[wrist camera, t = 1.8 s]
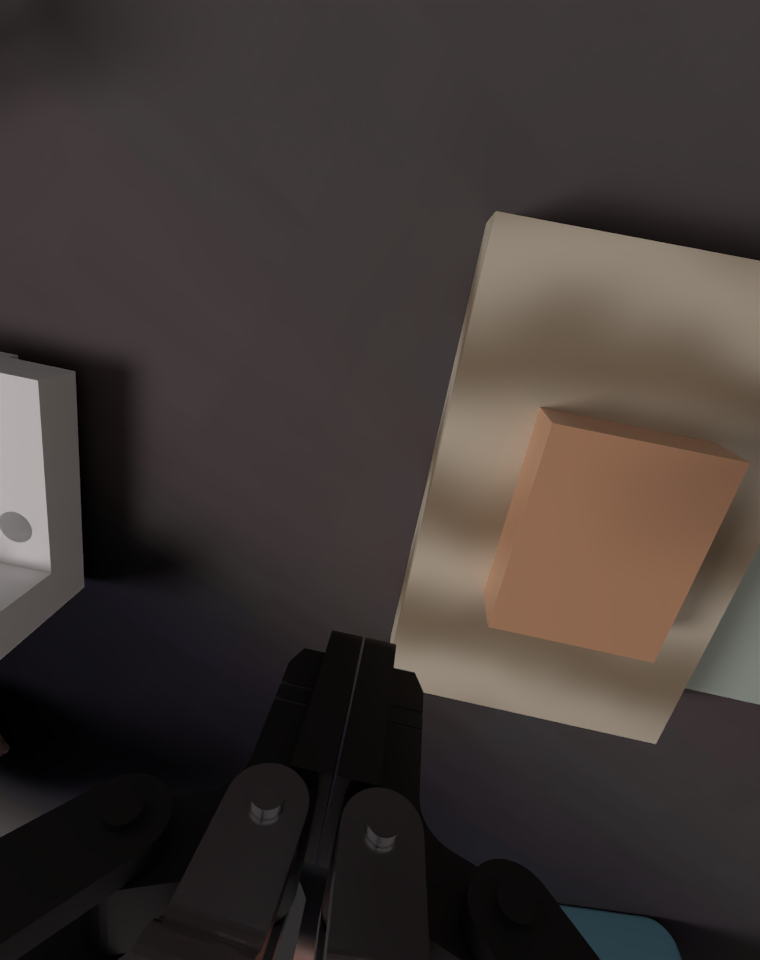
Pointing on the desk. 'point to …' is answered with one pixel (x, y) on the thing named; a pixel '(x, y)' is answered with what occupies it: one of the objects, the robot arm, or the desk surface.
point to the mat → (734, 645)
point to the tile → (607, 533)
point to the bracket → (37, 496)
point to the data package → (623, 935)
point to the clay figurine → (3, 746)
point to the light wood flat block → (593, 393)
